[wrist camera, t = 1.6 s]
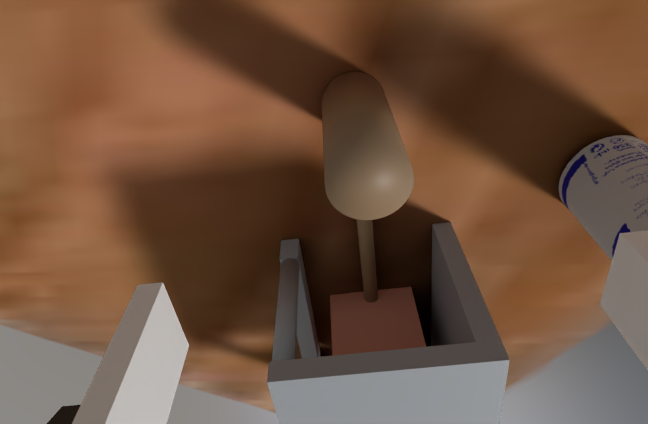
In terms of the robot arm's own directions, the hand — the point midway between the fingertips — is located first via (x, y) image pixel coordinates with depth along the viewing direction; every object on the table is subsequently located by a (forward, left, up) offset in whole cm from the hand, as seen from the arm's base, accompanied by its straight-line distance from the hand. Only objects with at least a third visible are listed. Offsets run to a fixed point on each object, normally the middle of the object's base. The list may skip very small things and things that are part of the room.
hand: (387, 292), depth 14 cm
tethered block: (+9, 0, -15) cm, 18 cm away
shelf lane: (+16, 0, -15) cm, 22 cm away
